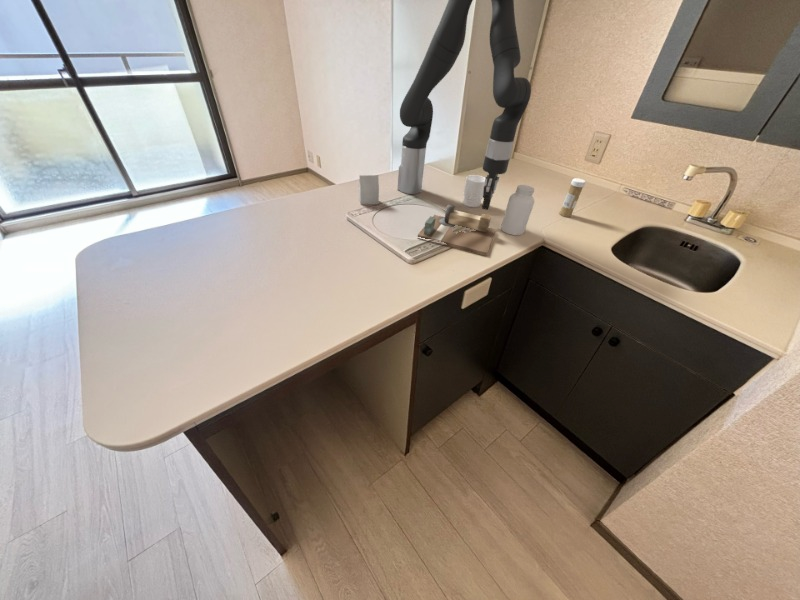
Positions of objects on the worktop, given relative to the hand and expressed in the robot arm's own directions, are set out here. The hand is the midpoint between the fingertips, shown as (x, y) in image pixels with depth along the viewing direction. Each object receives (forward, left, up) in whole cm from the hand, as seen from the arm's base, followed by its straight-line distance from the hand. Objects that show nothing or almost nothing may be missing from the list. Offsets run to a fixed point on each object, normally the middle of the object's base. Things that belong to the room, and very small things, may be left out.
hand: (485, 208), depth 111 cm
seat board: (-5, -13, -6) cm, 15 cm away
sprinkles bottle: (+28, +26, -6) cm, 38 cm away
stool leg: (-4, -8, -4) cm, 10 cm away
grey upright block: (-42, -4, -6) cm, 43 cm away
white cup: (-7, +16, -6) cm, 18 cm away
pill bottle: (+11, +1, -6) cm, 12 cm away
